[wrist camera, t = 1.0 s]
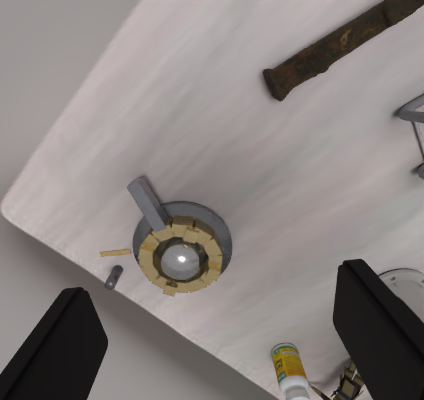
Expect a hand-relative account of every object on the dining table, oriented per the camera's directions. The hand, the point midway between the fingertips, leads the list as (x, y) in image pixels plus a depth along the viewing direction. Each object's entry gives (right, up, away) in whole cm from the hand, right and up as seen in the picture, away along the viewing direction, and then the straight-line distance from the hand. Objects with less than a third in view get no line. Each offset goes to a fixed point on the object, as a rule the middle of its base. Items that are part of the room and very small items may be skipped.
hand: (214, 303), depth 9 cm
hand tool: (+15, +23, +21) cm, 34 cm away
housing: (-7, -5, +32) cm, 33 cm away
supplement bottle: (+15, -27, +42) cm, 53 cm away
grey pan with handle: (-6, -1, +29) cm, 30 cm away
